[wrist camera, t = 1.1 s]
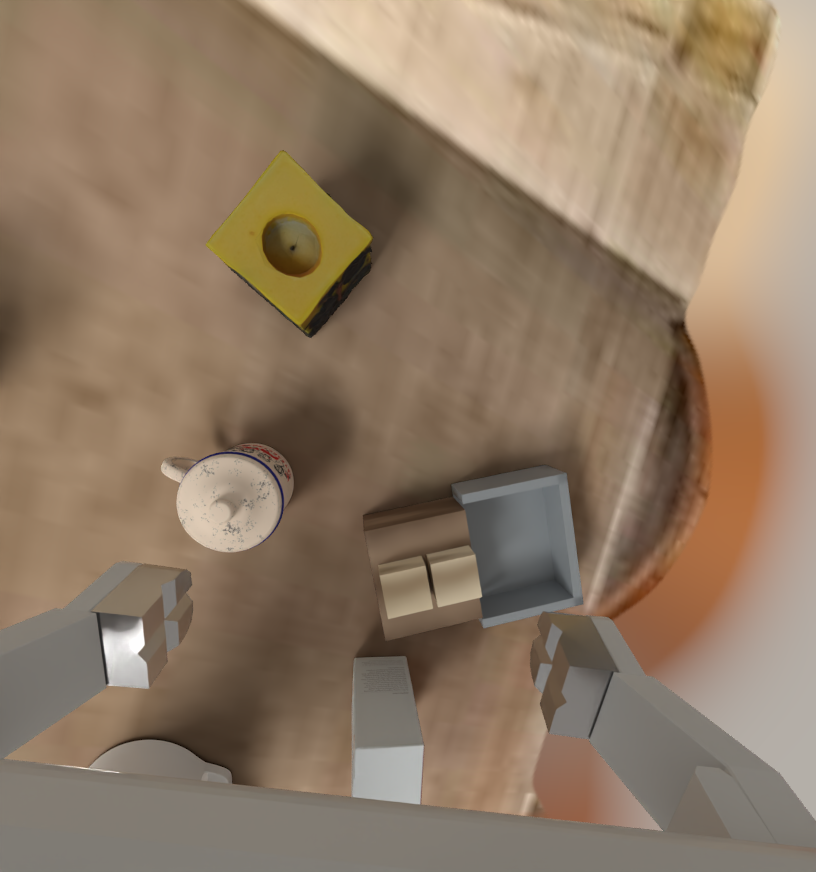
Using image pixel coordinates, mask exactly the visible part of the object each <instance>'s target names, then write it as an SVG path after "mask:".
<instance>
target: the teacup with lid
mask: <svg viewBox="0 0 816 872" xmlns="http://www.w3.org/2000/svg"><path fill="white" fill-rule="evenodd" d="M161 471H162V472H163V473H164V474H165V475H166V476H167V477H169V478H171V479H173V480H175V481H177V482H180V486H179V489H178V493H177V512H178V516H179V519H180V521H181V523H182V525H183V527H184V529H185V530H186V531H187V533H188V534H189V535H190V536H191V537H192V538H193V539H194V540H195V541H197V542H198V543H200V544H201V545H203V546H205V547H207V548H210V549H213V550H216V551H221V552H238V551H244V550H247V549H250V548H253V547H255V546H257V545H259V544H261V543H262V542H264V541H265V540H266V539H267V538H268V537H269V536H270V535H271V534H272V533H273V532H274V531H275V529H276V528H277V526H278V524H279V522H280V520H281V518H282V514H283V511H284V509H285V507H286V506H287V504H288V502H289V500H290V499H291V496H292V493H293V488H294V478H293V473H292V470H291V467H290V465H289V463H288V462H287V460H286V459H285V458H284V457H283V456H282V455H281V454H280V453H279V452H278V451H276V450H275V449H273V448H271V447H269V446H266V445H263V444H258V443H246V444H241V445H237V446H235V447H233V448H231V449H228V450H226V451H224V452H220V453H216V454H212V455H210V456H207V457H205V458H203V459H201V460H200V461H197V460H194V459H190V458H185V457H169V458H167V459H165V460H164V461H163V463H162V466H161Z"/></svg>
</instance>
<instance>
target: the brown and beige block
mask: <svg viewBox="0 0 816 872" xmlns="http://www.w3.org/2000/svg"><path fill="white" fill-rule="evenodd" d="M363 523H364V534H365V539H366V544H367V549H368V554H369V559H370V565H371V570H372V575H373V580H374V585H375V590H376V595H377V600H378V605H379V610H380V615H381V620H382V625H383V630H384V635H385V640H386V641H389V640H393V639H397V638H401V637H406V636H410V635H414V634H418V633H422V632H426V631H431V630H435V629H439V628H443V627H447V626H451V625H456V624H460V623H464V622H468V621H472V620H476V619H481V618H483V616H482V610H481V603H480V598H476V599H472V600H468V601H464V602H459V603H455V604H451V605H447V606H442V607H438V606H437V603H436V600H435V598H434V595H433V589H432V584H431V578H430V573H429V567H428V561H427V556H426V554H431V553H435V552H440V551H444V550H449V549H453V548H458V547H462V546H467V545H469V546H470V548H471V542H470V536H469V530H468V524H467V518H466V512H465V509H464V508H463V507H462V506H461V505H460V504H459V503H458V502H457V501H456V499H455V498H454V497H449V498H444V499H440V500H435V501H430V502H425V503H420V504H416V505H411V506H406V507H401V508H396V509H392V510H387V511H382V512H377V513H372V514H368V515H363ZM417 556H422V558H423V561H424V563H425V566H426V571H427V577H428V582H429V588H430V593H431V599H432V605H433V609H430V610H425V611H421V612H417V613H413V614H408V615H404V616H400V617H396V618H391V619H388V616H387V611H386V606H385V601H384V596H383V591H382V585H381V580H380V575H379V567H378V565H381V564H386V563H390V562H395V561H399V560H404V559H408V558H413V557H417Z"/></svg>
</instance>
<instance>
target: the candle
mask: <svg viewBox="0 0 816 872" xmlns="http://www.w3.org/2000/svg"><path fill="white" fill-rule="evenodd" d="M372 240H373V237H372V235H371V234H370V232H369V231H368V230H367V229H366V228H364V227H363V226H362V225H361V224H359V223H358V222H357V221H355V220H354V219H352V218H351V217H350V216H348V215H347V213H346V212H345V211H344V210H343V209H342V208H341V207H340V206H339V205H338V204H337V203H336V202H335V201H334V200H333V199H332V198H331V196H330V195H329V194H328V193H325V192H324V191H323V190H322V189H321V188H320V187H319V186H318V185H317V184H316V182H315V181H314V180H313V179H312V178H311V177H310V176H309V175H308V174H307V173H306V172H305V171H304V170H303V169H302V168H301V167H300V166H299V165H298V164H297V163H296V162H295V160H294V159H293V158H292V157H291V156H290V155H289V154H288V153H287V152H285V151H284V150H283V151H280V152H279V154H278V155H277V156H276V157H275V158H274V159H273V161H272V162H271V164H270V165H269V166H268V168H267V169H266V170H265V171H264V173H263V174H262V175H261V176H260V178H259V179H258V180H257V182H256V183H255V185H254V186H253V187H252V188H251V190H250V191H249V192H248V194H247V195H246V196H245V197H244V199H243V200H242V201H241V202H240V203H239V205H238V206H237V207H236V208H235V210H234V211H233V212H232V213H231V214H230V216H229V217H228V218H227V219H226V220H225V222H224V223H223V224H222V225H221V226H220V227H219V229H218V230H217V231H216V232H215V233H214V234H213V235H212V237H211V238H210V239H209V241H208V242H207V244H206V246H207V247H208V248H209V249H210V250H211V251H213V252H214V253H215V254H216V255H217V256H218V257H219V258H220V259H221V260H222V261H223V262H224V263H225V264H226V265H227V266H228V267H229V268H230V269H231V270H232V271H233V272H234V273H236V274H237V275H238V276H239V277H240V278H241V279H243V280H244V281H245V282H246V283H247V284H248V285H249V286H250V287H251V288H252V289H253V290H255V291H256V292H257V293H258V294H259V295H260V296H261V297H263V298H264V299H265V300H266V301H267V302H269V303H270V304H271V305H272V306H274V307H275V308H276V309H277V310H278V311H279V312H280V313H281V314H282V315H283V316H284V317H285V318H286V319H287V320H289V321H291V322H292V323H293V324H294V325H295V326H296V327H297V328H299V329H300V330H301V331H302V332H303V333H304V334H305V335H306V336H308V337H310V338H311V337H312V336H313V335H314V334H316V332H317V331H318V330H319V329H320V328H321V326H322V325H324V324H325V323H326V322H327V320H328V319H329V317H330V315H333V313H334V311H335V310H337V307H339V306H340V305H341V304H342V303H343V302H344V300H345V299H346V298H347V296H348V294H349V293H350V292H351V291H352V289H353V288H354V287H355V286H356V285H357V284H358V283H359V282H360V280H361V279H362V278H363V277H364V276H365V275H367V274H368V273H369V272H370V269H371V264H372V263H371V258H370V252H372V249H371V247H370V244H371V242H372Z"/></svg>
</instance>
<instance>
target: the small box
mask: <svg viewBox="0 0 816 872" xmlns="http://www.w3.org/2000/svg"><path fill="white" fill-rule="evenodd" d="M423 761H424V742H423V738H422V733H421V728H420V723H419V718H418V713H417V708H416V703H415V698H414V693H413V688H412V683H411V678H410V673H409V668H408V663H407V658H406V657H405V656H390V657H362V658H354V669H353V693H352V797H357V798H366V799H375V800H384V801H393V802H402V803H411V804H421V798H422V780H423Z"/></svg>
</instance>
